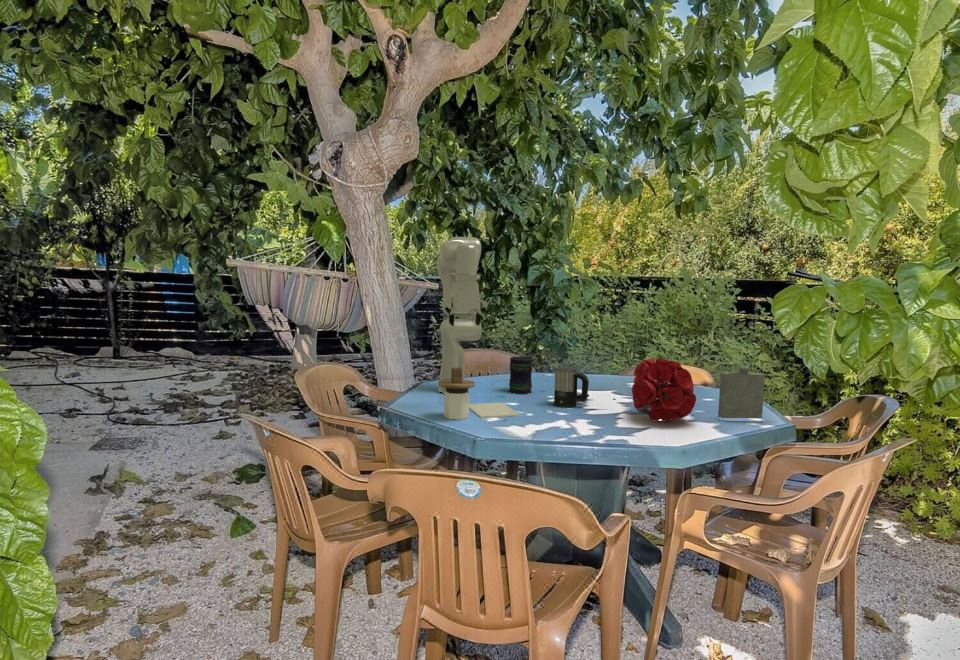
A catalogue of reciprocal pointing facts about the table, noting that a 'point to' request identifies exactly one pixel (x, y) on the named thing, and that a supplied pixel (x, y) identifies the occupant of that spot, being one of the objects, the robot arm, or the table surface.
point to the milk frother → (569, 387)
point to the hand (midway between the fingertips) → (464, 325)
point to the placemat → (492, 410)
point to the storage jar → (520, 375)
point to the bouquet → (663, 389)
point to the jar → (456, 403)
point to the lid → (456, 380)
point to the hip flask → (741, 394)
